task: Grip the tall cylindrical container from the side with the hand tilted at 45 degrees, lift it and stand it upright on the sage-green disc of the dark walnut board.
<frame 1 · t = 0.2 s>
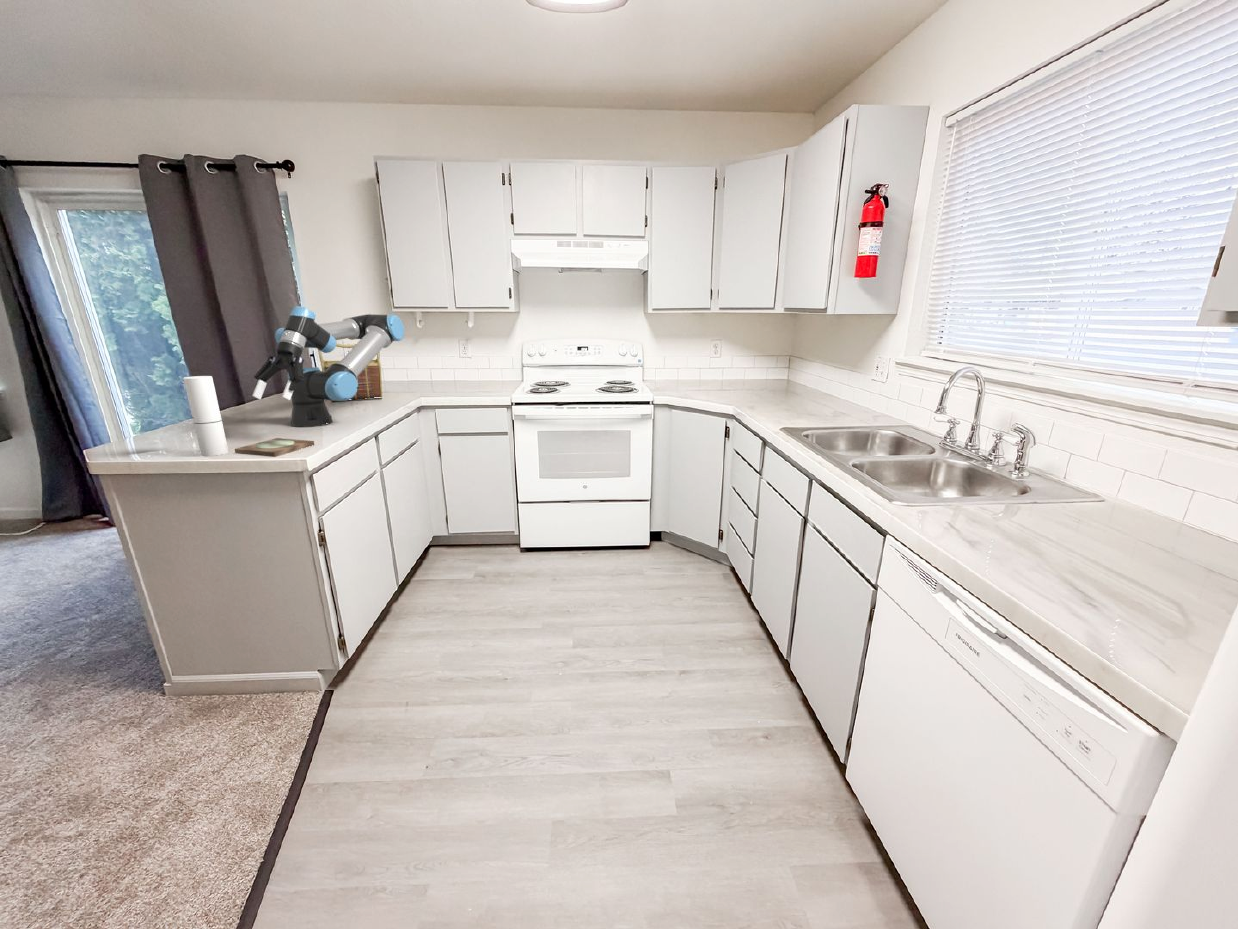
hand: (270, 398, 177), 16 cm above the worktop, tool tilted 35°, fingers open, 13 cm apart
picnic basket: (356, 399, 274), on the worktop
cylindrical container: (215, 454, 165), on the worktop
target board: (276, 449, 171), on the worktop
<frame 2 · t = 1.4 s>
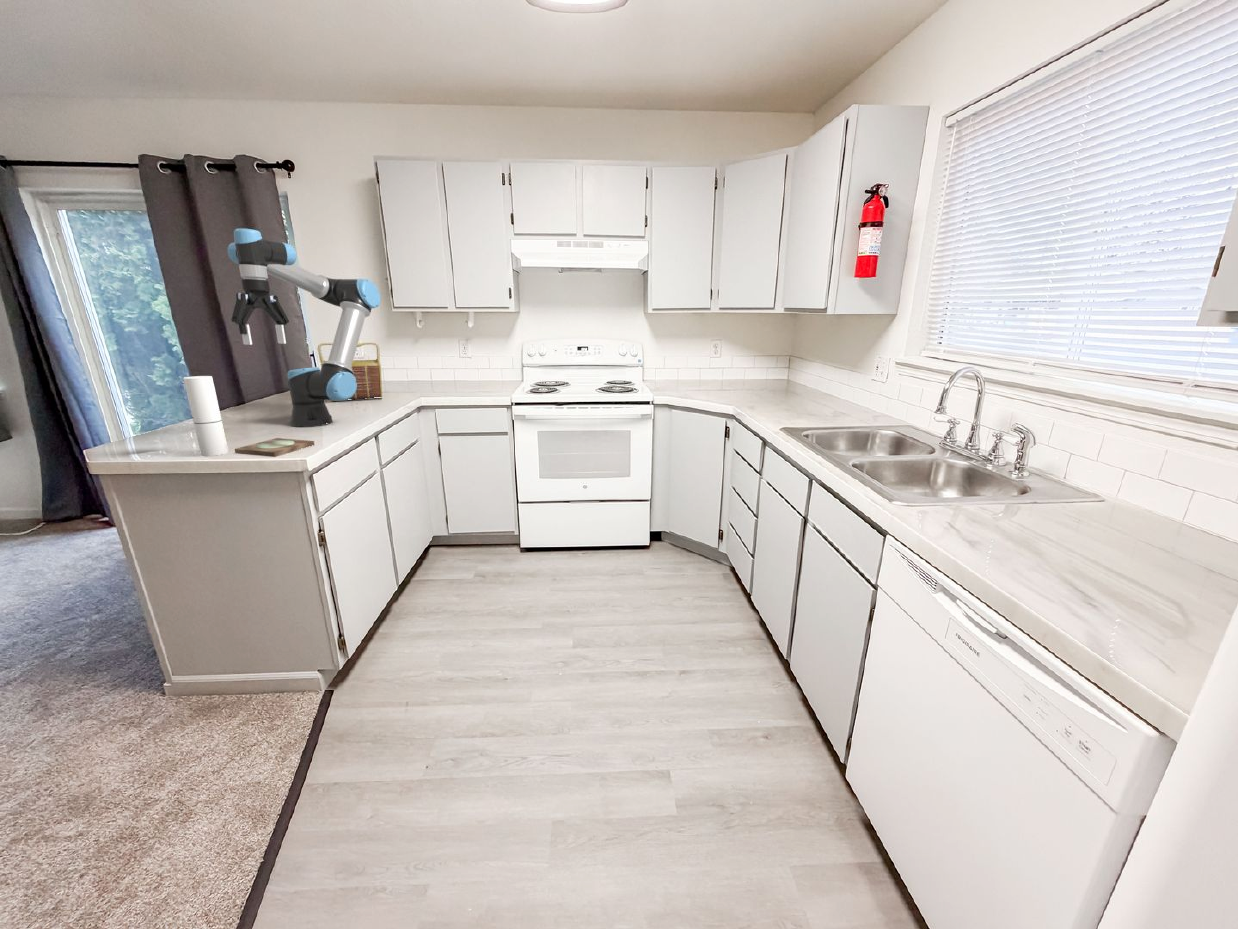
hand: (265, 344, 174), 34 cm above the worktop, tool pointing down, fingers open, 13 cm apart
nothing on the worktop moved.
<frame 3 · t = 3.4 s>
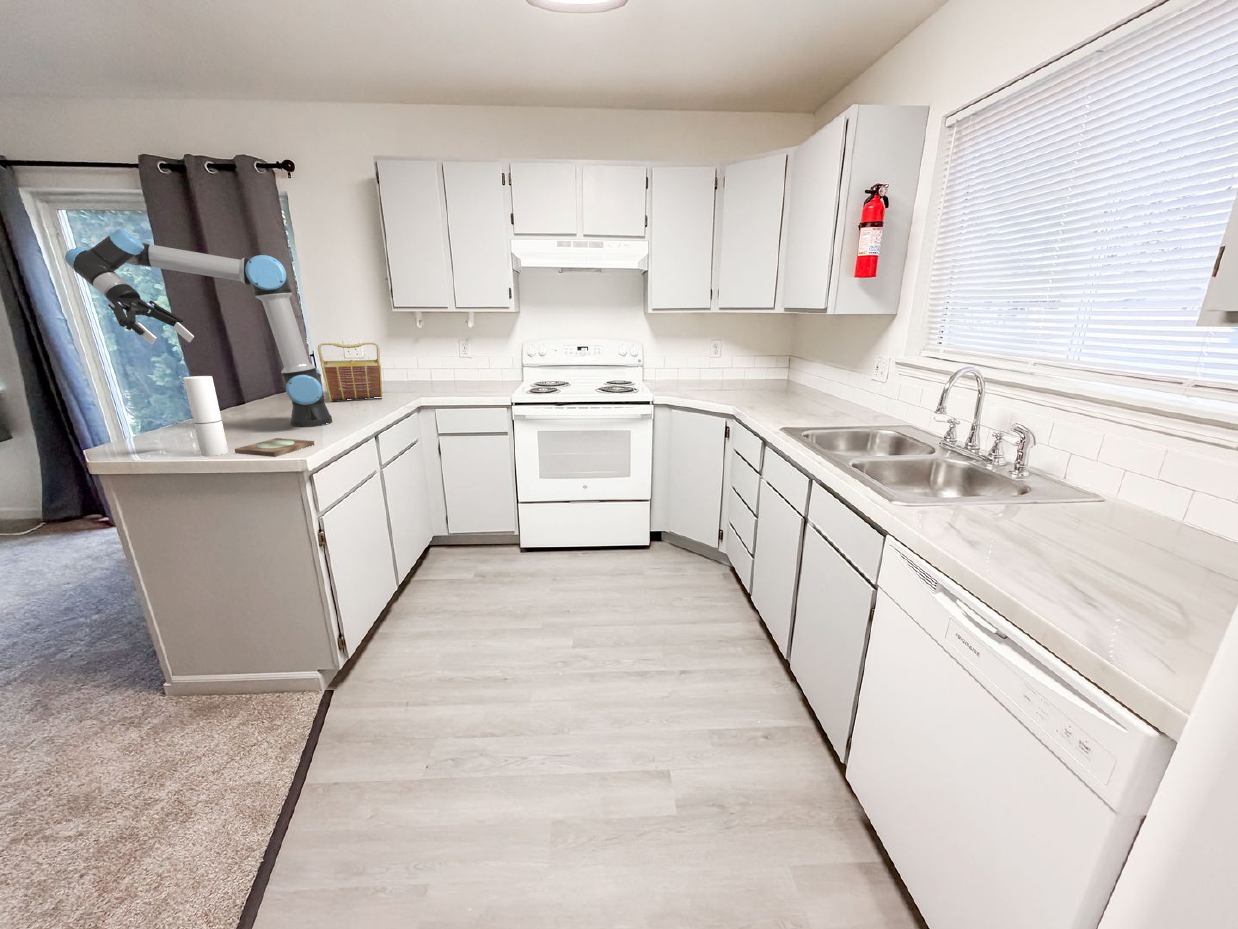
hand: (173, 340, 164), 36 cm above the worktop, tool tilted 45°, fingers open, 13 cm apart
nothing on the worktop moved.
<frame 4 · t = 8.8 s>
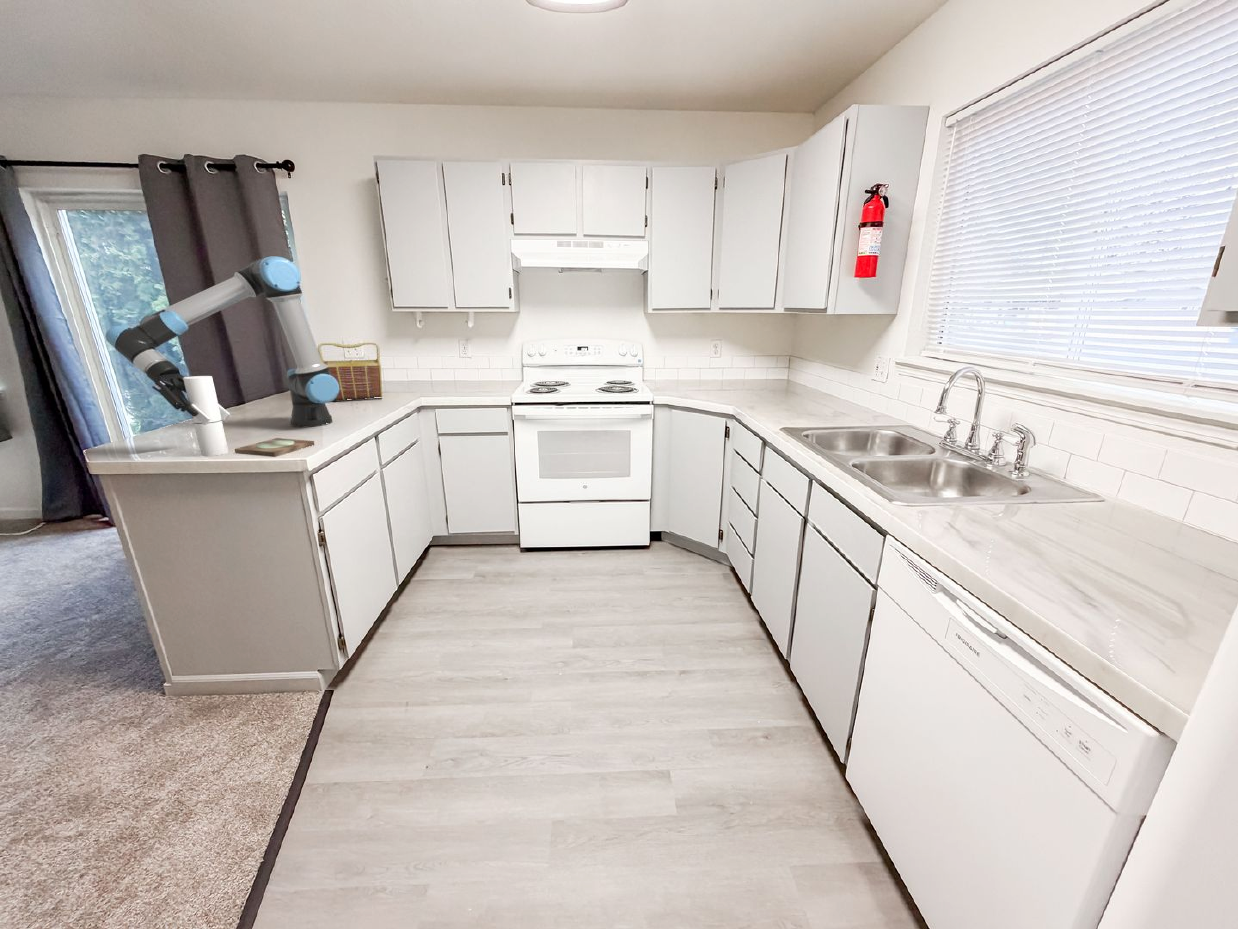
hand: (217, 419, 161), 12 cm above the worktop, tool tilted 45°, fingers closed on cylindrical container, 7 cm apart
cylindrical container: (215, 454, 165), on the worktop, touching gripper
everything else where it was.
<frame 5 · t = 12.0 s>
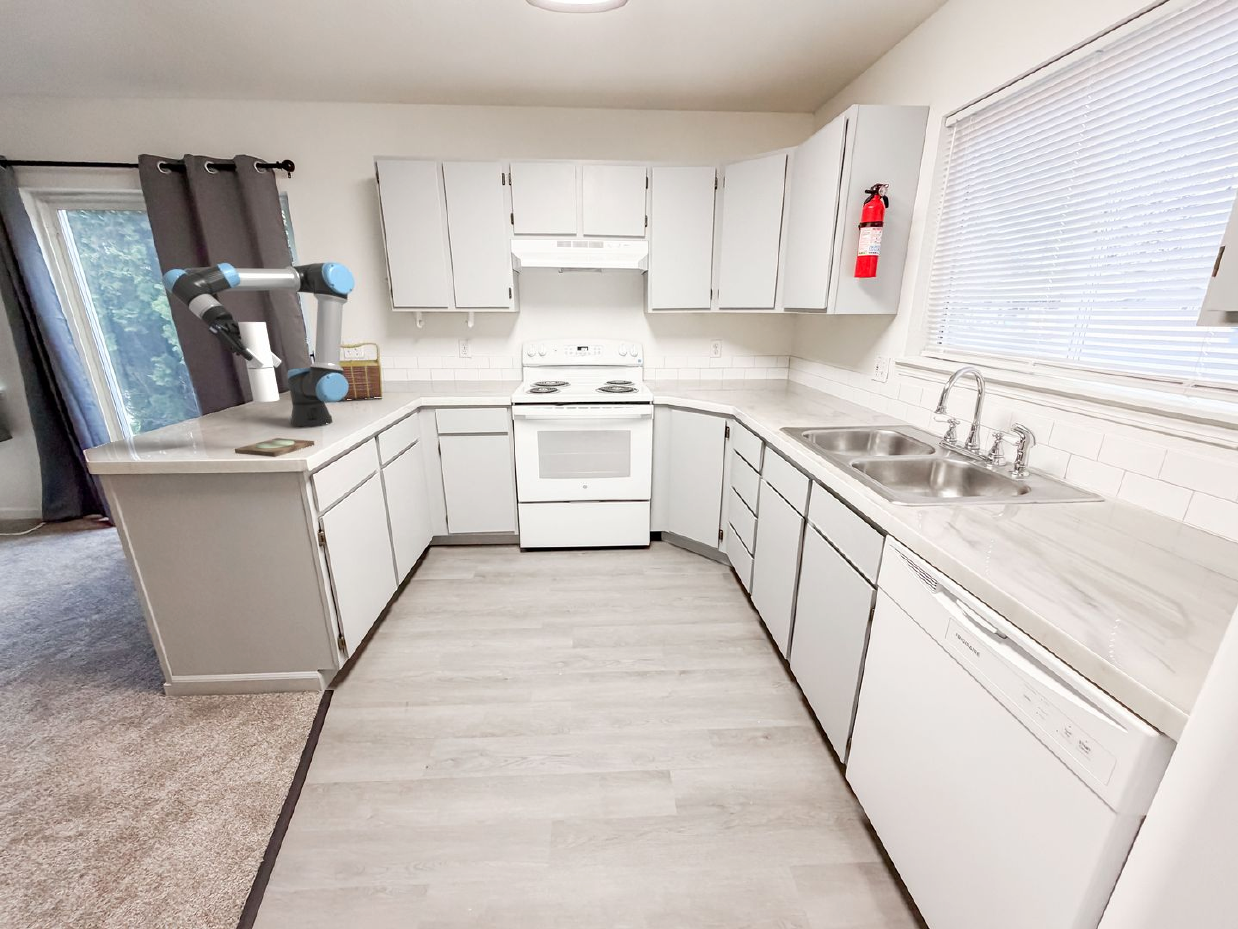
hand: (270, 365, 163), 28 cm above the worktop, tool tilted 45°, fingers closed on cylindrical container, 7 cm apart
cylindrical container: (266, 400, 166), point 17 cm above the worktop, touching gripper
everything else where it was.
when the fingers open (15 cm above the worktop, at t = 15.5 s): cylindrical container drops 1 cm, resting on target board.
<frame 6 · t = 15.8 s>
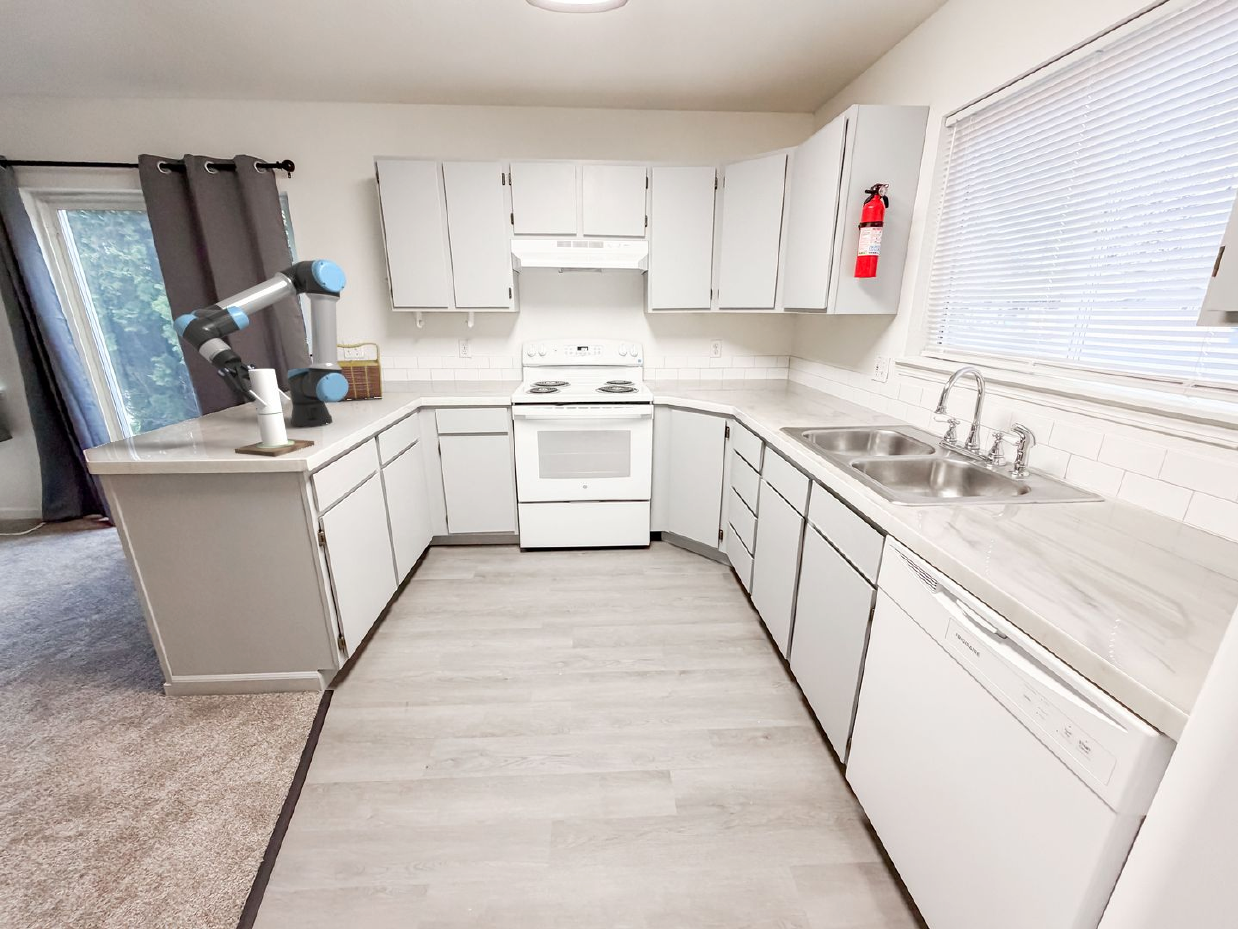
hand: (276, 404, 167), 15 cm above the worktop, tool tilted 45°, fingers open, 10 cm apart
cylindrical container: (275, 444, 171), point 2 cm above the worktop, touching target board
everything else where it was.
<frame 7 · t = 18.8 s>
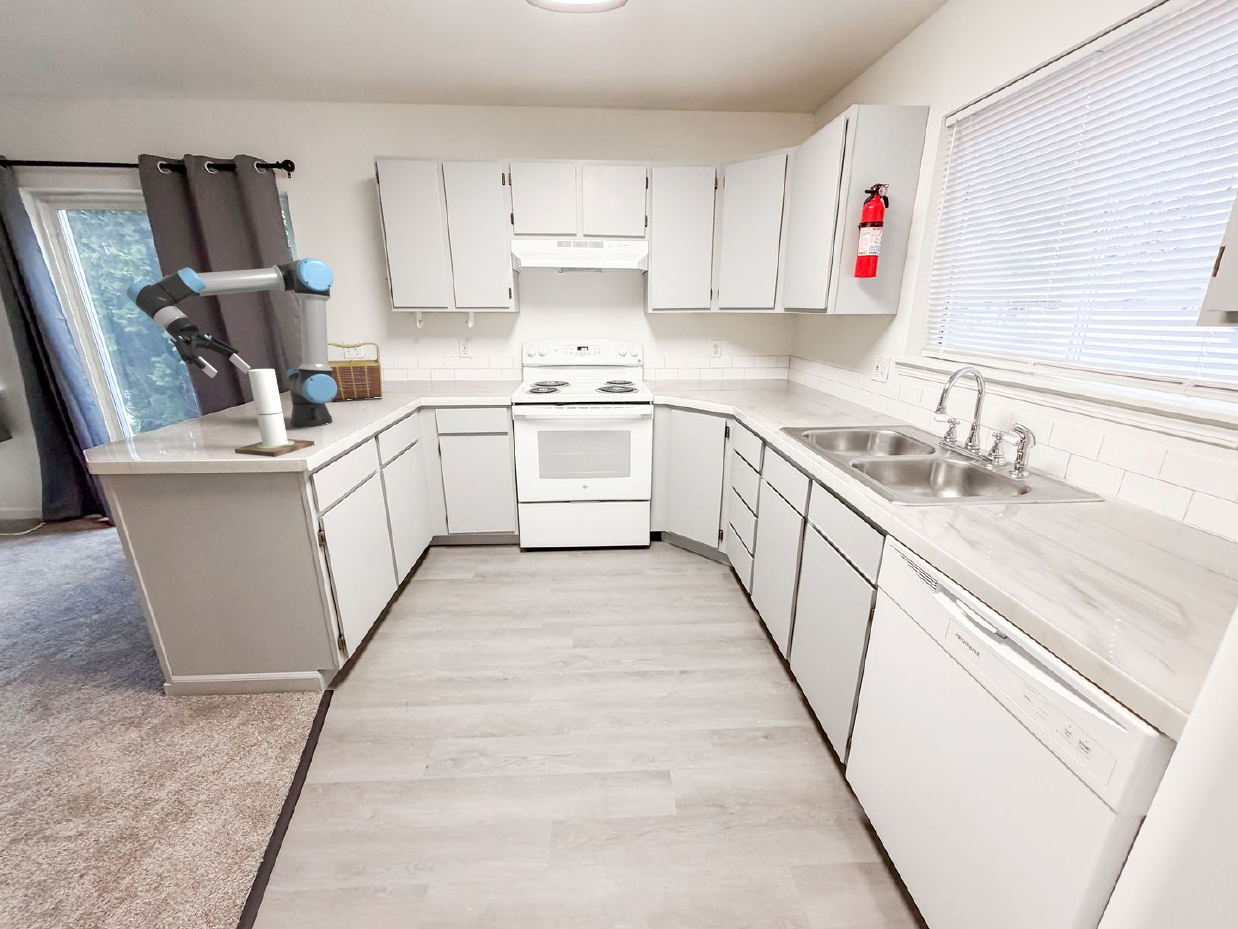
hand: (231, 372, 164), 26 cm above the worktop, tool tilted 45°, fingers open, 13 cm apart
nothing on the worktop moved.
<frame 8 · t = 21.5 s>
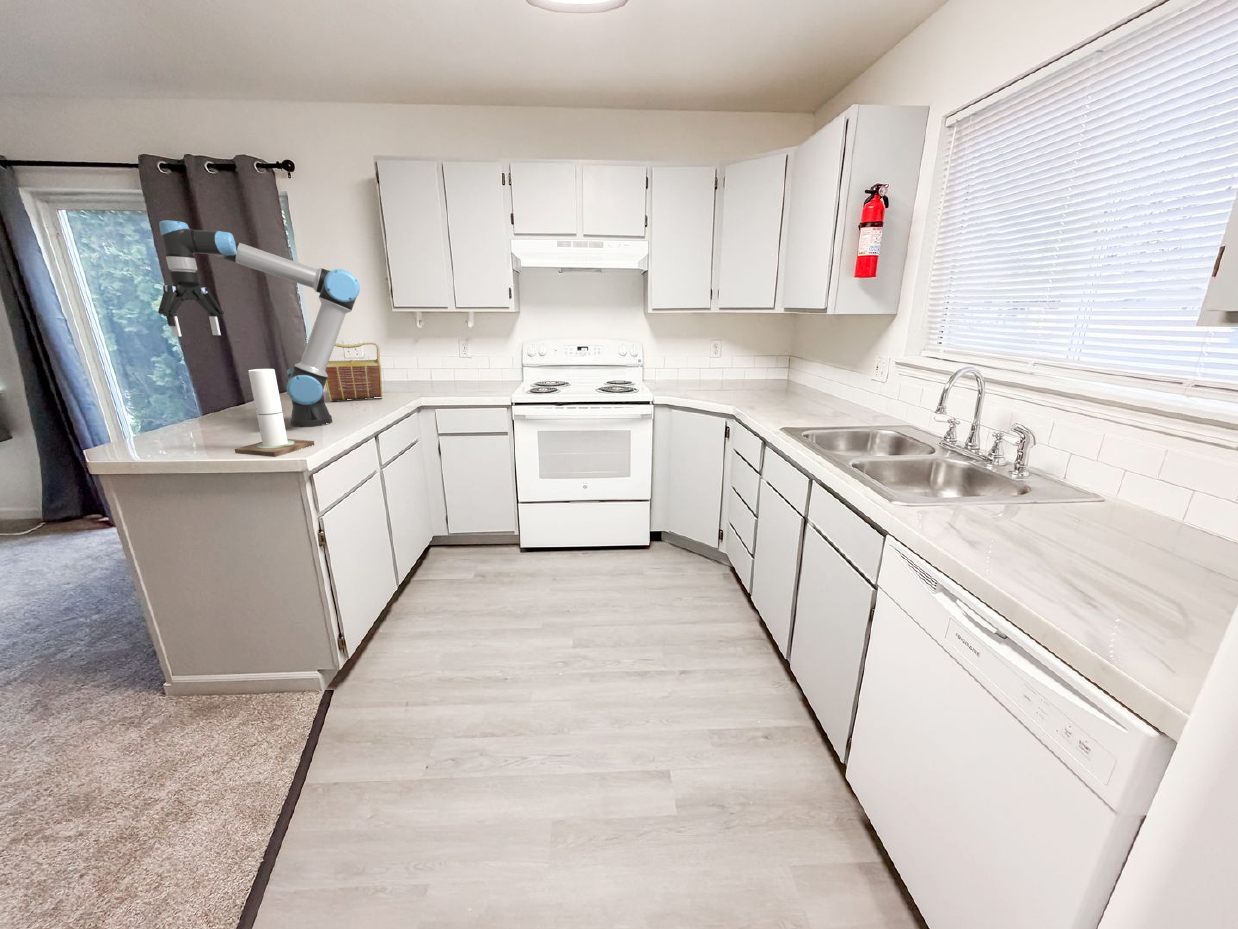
hand: (197, 335, 176), 37 cm above the worktop, tool pointing down, fingers open, 13 cm apart
nothing on the worktop moved.
at the end: cylindrical container inside the target area on the target board (0.1 cm from its centre), point 1.6 cm above the target board's base; cylindrical container tilted 0°; the gripper is holding nothing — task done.
